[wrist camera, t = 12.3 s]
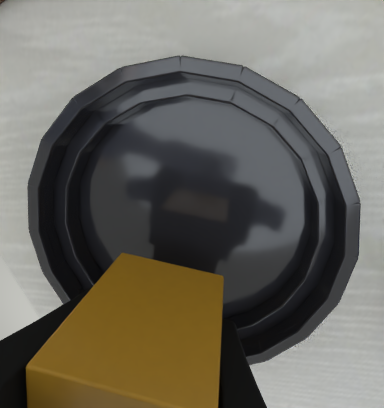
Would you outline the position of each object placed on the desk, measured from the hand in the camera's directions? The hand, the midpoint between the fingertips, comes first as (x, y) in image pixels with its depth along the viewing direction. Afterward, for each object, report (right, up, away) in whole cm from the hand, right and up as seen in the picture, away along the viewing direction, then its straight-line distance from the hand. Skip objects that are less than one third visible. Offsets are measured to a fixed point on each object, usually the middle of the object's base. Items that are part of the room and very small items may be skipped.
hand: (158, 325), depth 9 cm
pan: (+1, +4, +3) cm, 5 cm away
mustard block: (0, 0, +1) cm, 1 cm away
